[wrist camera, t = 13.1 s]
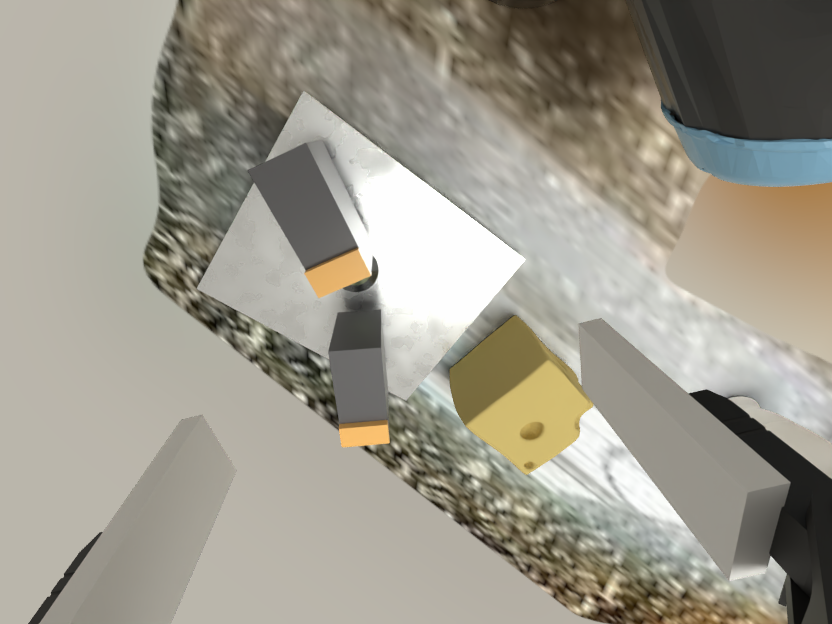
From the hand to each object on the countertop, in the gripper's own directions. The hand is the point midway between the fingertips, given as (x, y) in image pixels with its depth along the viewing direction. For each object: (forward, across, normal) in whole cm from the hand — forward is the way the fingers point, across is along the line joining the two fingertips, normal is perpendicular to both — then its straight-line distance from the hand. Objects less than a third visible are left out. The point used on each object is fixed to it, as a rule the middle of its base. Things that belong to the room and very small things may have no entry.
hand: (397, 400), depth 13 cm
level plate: (+26, -3, -3) cm, 27 cm away
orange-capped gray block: (+24, -5, -10) cm, 27 cm away
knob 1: (+24, -4, +4) cm, 25 cm away
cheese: (+27, +9, -19) cm, 34 cm away
